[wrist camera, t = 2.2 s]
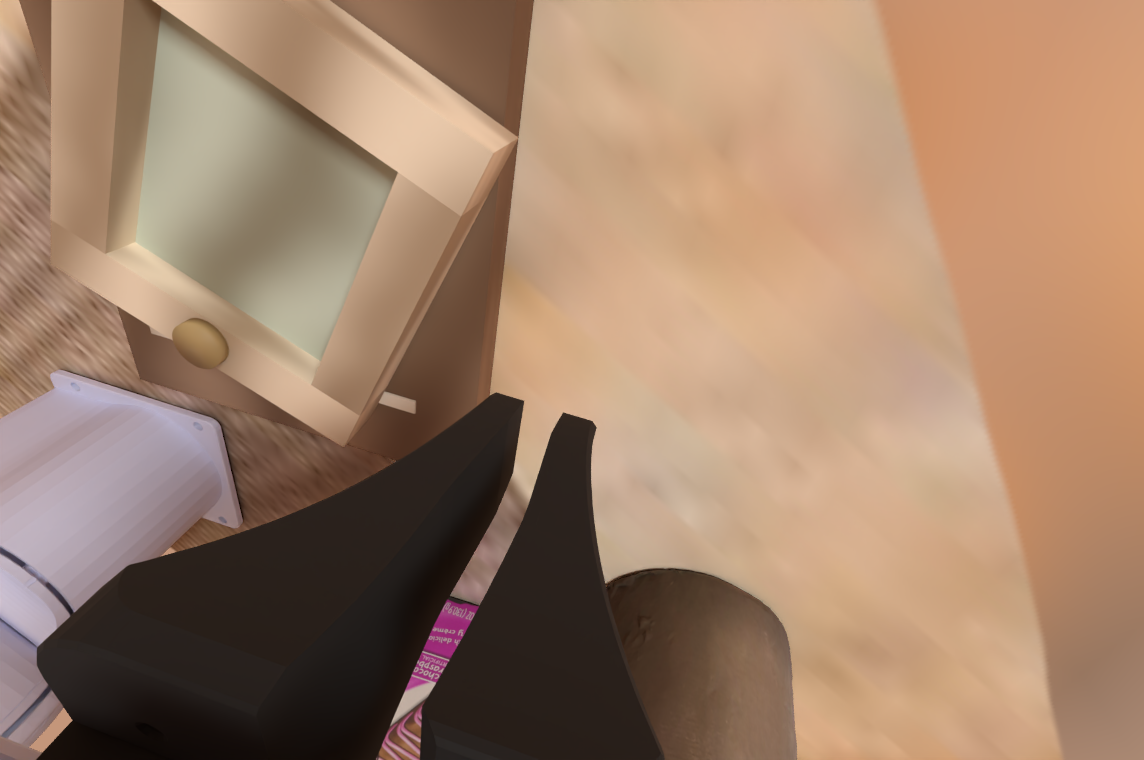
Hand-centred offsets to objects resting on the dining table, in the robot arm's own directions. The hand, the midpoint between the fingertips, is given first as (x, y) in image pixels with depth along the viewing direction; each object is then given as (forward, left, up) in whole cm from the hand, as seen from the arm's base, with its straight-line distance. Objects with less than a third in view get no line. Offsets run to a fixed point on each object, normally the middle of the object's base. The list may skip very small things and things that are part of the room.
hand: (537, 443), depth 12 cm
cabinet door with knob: (-11, 0, -8) cm, 14 cm away
